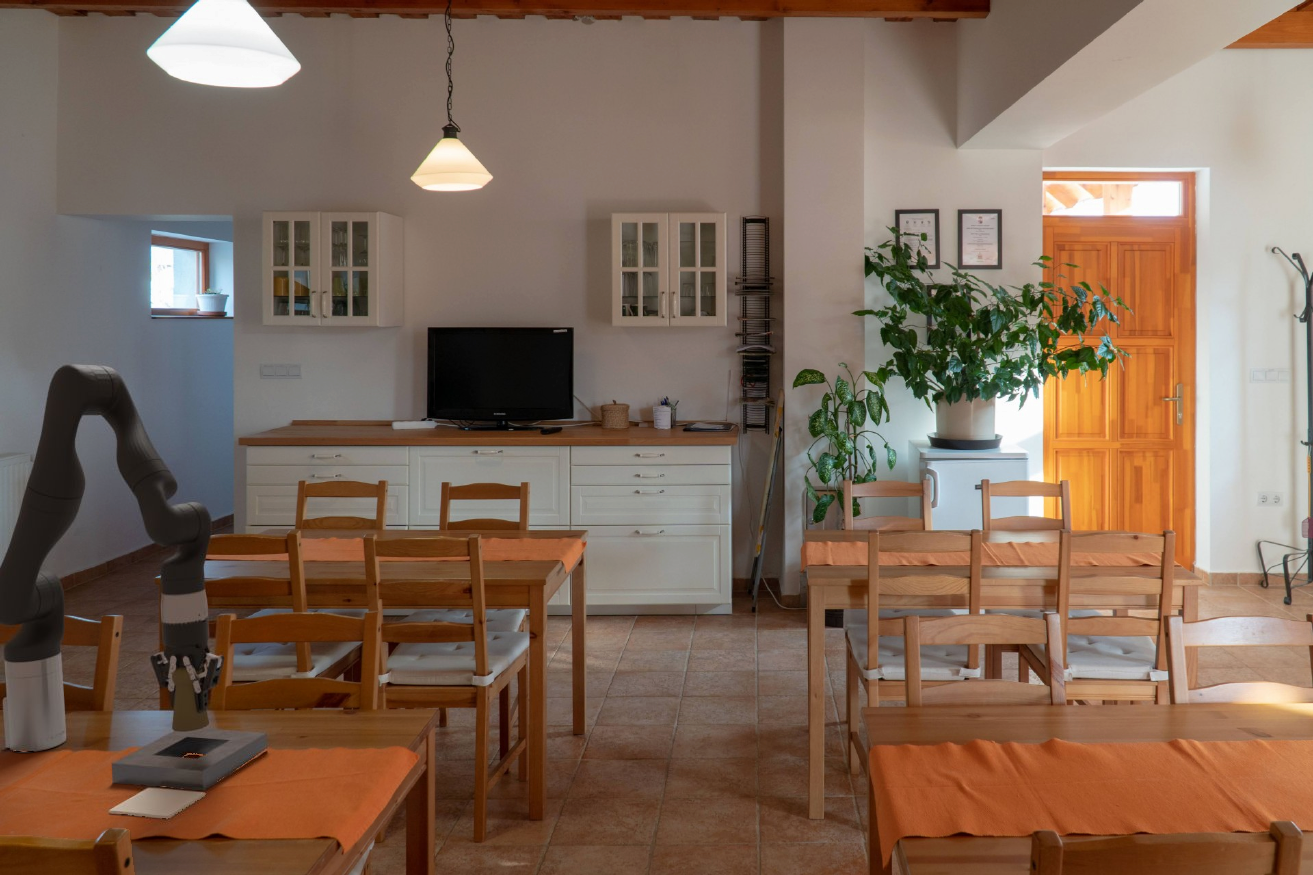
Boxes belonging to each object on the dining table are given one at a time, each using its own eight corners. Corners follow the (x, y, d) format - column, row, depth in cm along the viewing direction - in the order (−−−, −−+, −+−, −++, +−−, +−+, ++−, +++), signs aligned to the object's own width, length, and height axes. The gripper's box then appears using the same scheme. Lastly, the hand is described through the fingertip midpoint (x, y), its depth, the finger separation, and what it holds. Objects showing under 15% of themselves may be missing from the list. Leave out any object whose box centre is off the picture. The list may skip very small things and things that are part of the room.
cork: (195, 732, 180) (191, 670, 179) (164, 730, 181) (161, 669, 180) (216, 720, 186) (213, 661, 185) (186, 719, 187) (183, 659, 186)
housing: (112, 783, 177) (111, 763, 177) (183, 744, 195) (182, 726, 194) (203, 791, 173) (202, 771, 173) (267, 751, 191) (266, 733, 190)
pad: (109, 813, 165) (108, 810, 165) (148, 790, 174) (148, 787, 174) (168, 819, 163) (168, 816, 163) (205, 795, 171) (205, 792, 171)
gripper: (135, 620, 180) (140, 715, 181) (206, 623, 177) (211, 720, 178) (164, 609, 187) (170, 702, 188) (233, 612, 184) (238, 706, 185)
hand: (190, 710), depth 183 cm, fingers closed on cork, 4 cm apart
